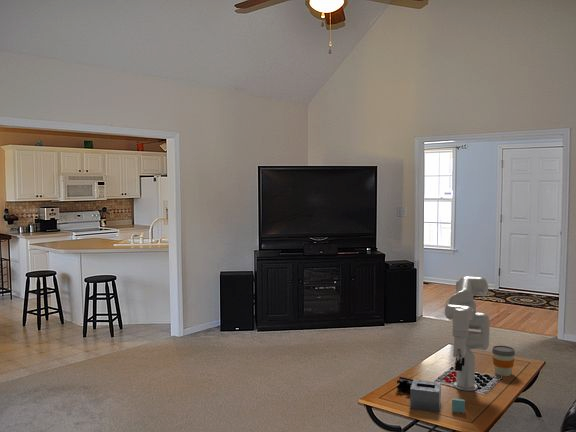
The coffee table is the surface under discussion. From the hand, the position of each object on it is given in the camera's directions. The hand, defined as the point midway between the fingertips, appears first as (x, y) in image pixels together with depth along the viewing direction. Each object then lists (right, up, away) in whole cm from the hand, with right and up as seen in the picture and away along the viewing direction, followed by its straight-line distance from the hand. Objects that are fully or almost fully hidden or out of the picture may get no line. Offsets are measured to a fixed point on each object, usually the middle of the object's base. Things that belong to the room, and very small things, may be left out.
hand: (459, 367), depth 263 cm
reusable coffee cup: (+43, -19, +54) cm, 72 cm away
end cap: (-20, -21, +27) cm, 40 cm away
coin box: (-15, -21, +9) cm, 27 cm away
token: (-1, -22, +1) cm, 22 cm away
